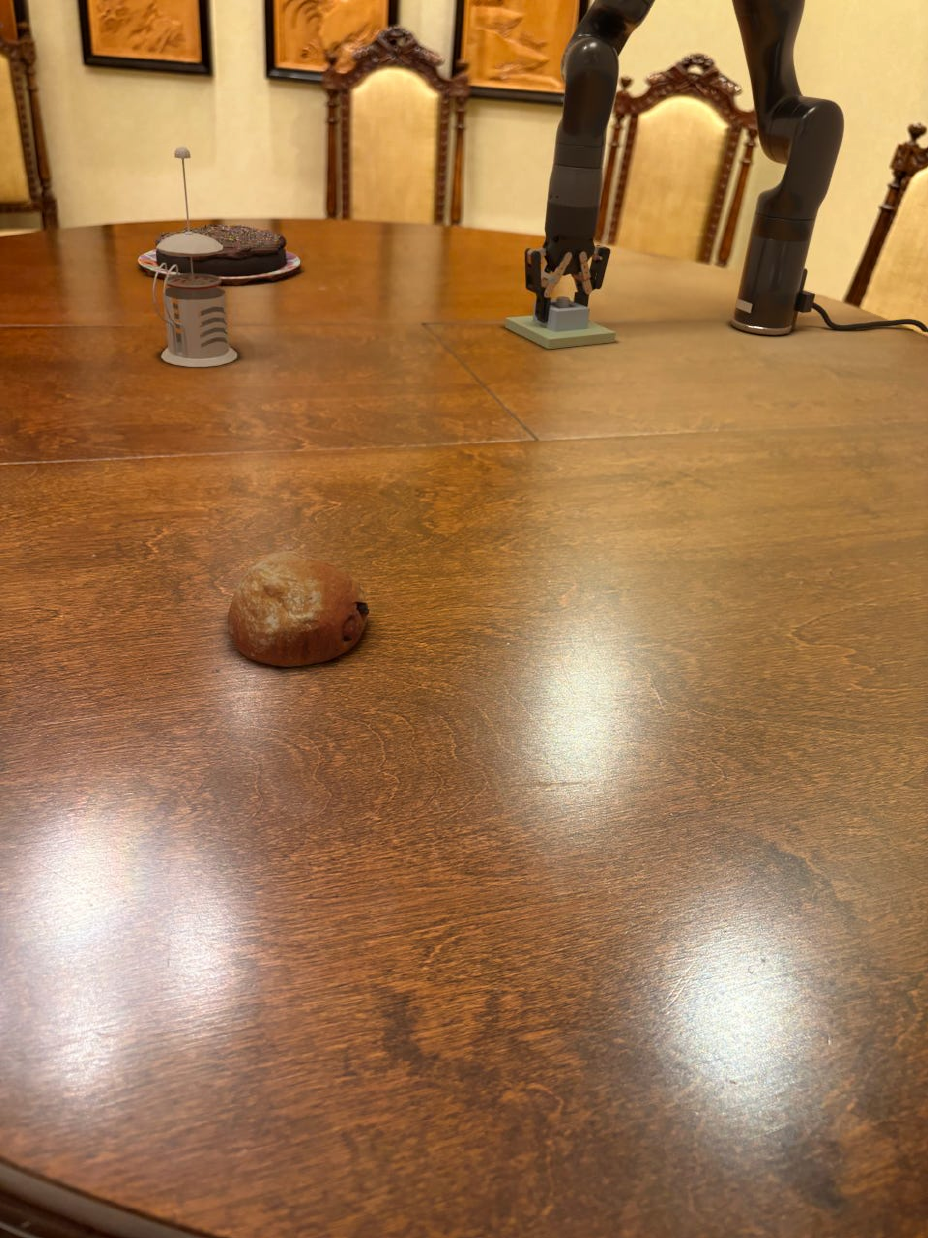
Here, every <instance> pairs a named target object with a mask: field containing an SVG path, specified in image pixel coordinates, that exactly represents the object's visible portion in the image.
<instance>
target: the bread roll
mask: <svg viewBox="0 0 928 1238" xmlns="http://www.w3.org/2000/svg"><path fill="white" fill-rule="evenodd" d="M369 614H370V609H369V604H368V602H367V600H366V593H365V591H364V589H363V587H361V582H360V580H358V579H357V578H354V577H353V576H352V575H350V574H348V573H347V572H345V571H343V570H341V569H339V568H336V567H335V566H334V564H333V563H330V562H328V561H324V560H323V561H318V560H316V559H313V558H311V557H308V556H306V555H303V554H302V553H299V552H297V551H294V550H283V551H278V552H275V553H271V554H269V555H268V556H266V557H264V558H263V559H261V560H260V561H258V562H257V563H256V564H254V565H253V566H251V567H250V568H249V569H248V570H247V572H245V574H244V576H243V577H242V578H241V579H240V582H239V584H238V585H237V587H236V588H235V591H234V593H233V595H232V599H231V602H230V605H229V609H228V613H227V620H226V621H227V623H226V624H227V629H228V634H229V637H230V639H231V641H232V643H233V645H234V647H235V648H236V649H237V651H239V652H240V653H242V654H243V656H245V657H246V658H248V659H249V660H252V661H256V662H259V663H261V664H266V665H270V666H274V667H284V668H292V667H300V666H309V665H314V664H318V663H320V664H321V663H324V662H327V661H330V660H333V659H335V658H337V657H339V656H341V655H343V654H345V653H346V652H348V651H350V650H351V649H352V648H353V647H354V646H355V645H356V644H357V642H359V640H360V638H361V636H362V634H363V633H364V630H365V628H366V624H367V618H368V615H369Z"/></svg>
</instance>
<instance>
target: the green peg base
mask: <svg viewBox="0 0 928 1238" xmlns="http://www.w3.org/2000/svg"><path fill="white" fill-rule="evenodd" d="M555 300H556V308H559V309H560V308H569V302H570V300H571V298H570V297H568V296H563V295H560V296H559V295H558V296H556V299H555ZM504 324H505V325H504V327H505V328H506V329H507V330H509V331H511V332H512V333H513V332H514V333H515V334H517V335H518V336H521V337H523V338H525V339H527V340H529V341H531V342H533V343H535V344H537V345H539V346H540V347H542V348H545V349H546V350H555V349H556V350H557V349H564V348H575V347H584V346H590V345H591V346H592V345H601V344H611V343H615V341H616V334H617V333H616V331H614V330H611V329H610V328H607V327H604V326H603V325H601V324H598V323H596V322H593V321H591V320H589V319H588V327H587V329H578V330H568V331H558V332H554V331H552V330H550V329H548V328H546V327H543V326H541V325H539V324H537V323H535V322H533V314H532V315H523V316H510V317H505V323H504Z"/></svg>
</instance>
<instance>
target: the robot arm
mask: <svg viewBox="0 0 928 1238" xmlns="http://www.w3.org/2000/svg"><path fill="white" fill-rule="evenodd" d="M655 2H656V0H593V2H592V4H591V5H590V7H589V8H588V10H587V11H586V13H585V14H584V16H583V17H582V19H581V20H580V22H579V23H578V25H577V27H576V28H575V30H574V31H573V33H572V35H571V36H570V39H569V41H568V43H567V44H566V46H565V48H564V50H563V53H562V55H561V59H560V65H559V73H560V77H561V80H562V82H563V84H564V93H563V104H562V113H561V114H562V115H561V118H560V120H559V122H558V124H557V127H556V133H555V139H554V150H553V159H552V162H553V163H552V167H551V172H550V176H549V182H548V190H547V200H546V211H545V220H544V234H545V239H544V242H543V244H542V246H541V247H539V248H538V247H537V248H530V247H527V248H525V250H524V280H525V282H524V283H525V284H524V285H525V289H526V290H527V291H529V292H531V293H534V294H535V296H536V297H535V298H536V299H535V301H536V307H535V316H536V317H537V320H538V321H540V322H542V323H547V322H548V318H549V309H550V305H551V300H552V297H550V296H551V295H552V293H553V291H554V289H555V287H556V285H557V284H559V283H560V281H561V279H562V277H565V276H568V275H570V276H571V277H572V279H573V281H574V286H575V288H576V291H575V292H574V296H573V302H576V303H578V304H580V305H583V306H585V307H588V308H589V299H590V295H591V294H592V292H593V291H596V290H601V289H602V287H603V285H604V279H605V276H606V272H607V267H608V265H609V264H608V263H609V259H610V255H611V248H609V247H606V246H604V245H602V244H596V245H595V242H594V238H595V237H596V236H597V235H598V234H597V233H598V226H599V225H598V224H599V219H600V218H599V217H600V210H601V202H602V194H603V187H604V186H603V185H604V184H603V183H604V164H605V163H604V162H605V156H606V149H607V148H606V147H607V138H608V137H607V135H608V128H609V122H610V119H611V115H612V111H613V107H614V103H615V98H616V95H617V89H618V84H619V83H618V82H619V76H620V62H619V61H620V59H619V56H620V55H621V53H622V52H623V49H624V48H625V46H626V44H627V43H628V41H629V39H630V37H631V36H632V34H633V33H634V32H635V31H636V30H637V29H638V28H639V27H640V26H641V25H642V24H643V22H644V21H645V19H646V18H647V17H648V15H649V13H650V11H651V9H652V7H653V6H654V4H655ZM731 4H732V7H733V13H734V16H735V19H736V22H737V27H738V30H739V34H740V38H741V42H742V47H743V53H744V58H745V62H746V66H747V70H748V75H749V79H750V80H749V81H750V87H751V94H752V101H753V108H754V109H753V110H754V115H755V124H756V132H757V136H758V142H759V145H760V148H761V151H762V152H763V154H764V155H765V157H766V158H767V159H768V160H770V161H772V162H774V163H776V164H780V165H785V169H784V172H783V175H782V177H781V179H780V182H779V183H778V184H777V185H775V186H774V187H771V188H768V189H766V190H763V191H761V192H759V194H758V196H757V199H756V203H755V207H754V213H753V218H752V223H751V228H750V234H749V239H748V243H747V247H746V253H745V256H744V257H745V258H744V263H743V266H742V272H741V278H740V281H739V287H738V291H737V296H736V301H735V307H734V311H733V315H732V318H731V325H732V327H734V328H736V329H738V330H741V331H743V332H747V333H752V334H755V335H756V334H757V335H764V336H765V335H766V336H781V335H786V334H787V335H788V334H789V333H790V332H791V331H794V330H795V327H796V323H797V319H798V315H799V313H802V314H806V313H811V312H812V309H813V310H814V311H816V312H817V313H818V314H819V315H820V316H821V318H822V319H823V322H824V324H825V325H826V326H827V327H828V328H830V329H831V330H835V331H840V332H841V331H853V330H865V329H872V328H879V327H881V328H882V327H893V326H903V325H911V326H915V327H917V328H918V329H919V330H921V331H922V332H924V333H928V326H927V325H926V324H924V323H923V322H922V321H920V320H917V319H913V318H900V319H893V320H875V321H870V322H860V323H850V324H837V323H835V322H833V321H832V320H831V318H830V316H829V314H828V313H827V311H826V309H824V308H823V306H821V305H819V304H817V302H815V296H816V294H815V293H813V292H810V291H807V290H805V286H806V280H807V277H808V273H809V272H808V271H809V270H808V269H807V268H806V263H807V258H808V254H809V250H810V246H811V242H812V237H813V233H814V228H815V224H816V220H817V216H818V212H819V209H820V207H821V205H822V204H823V202H824V201H825V199H826V196H827V194H828V191H829V189H830V185H831V182H832V178H833V174H834V171H835V167H836V165H837V161H838V157H839V154H840V150H841V147H842V143H843V138H844V130H845V118H844V117H845V116H844V112H843V110H842V107H841V106H840V105H839V104H838V103H837V102H836V101H833V100H831V99H828V98H821V97H812V96H806V95H803V93H802V91H801V88H800V85H799V82H798V78H797V72H796V66H795V59H794V52H795V51H794V50H795V44H796V40H797V36H798V33H799V30H800V27H801V23H802V20H803V16H804V10H805V6H806V0H731ZM590 259H591V261H590V264H588V262H589V260H590ZM544 260H545V262H544ZM542 264H544V265H543V267H542ZM551 272H552V273H551Z"/></svg>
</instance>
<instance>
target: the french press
mask: <svg viewBox="0 0 928 1238" xmlns="http://www.w3.org/2000/svg"><path fill="white" fill-rule="evenodd" d="M173 156H174V159H175V158H176V159H181V164H182V165H181V166H182V176H183V177H182V178H183V189H184V200H185V211H186V224H187V228H188V231H187V232H185V233H181V234H175V235H172V236H170V237H168V238H166V239H164V240H163V241H162V242H160V243H159V244H158V245H157V246H155V247H156V249H158V251H159V252H161V253H163V254H166V255H171V256H179V257H190V260H191V272H192V274H191V273H190V274H188V273H187V274H186V273H185V274H183V273H182V274H181V273H180V274H179V275H178V267H177V265H173V266H172V267H171V269H170V270H169V271H168V269H167V265H166V263H162V264H161V266H160V267H159V268H158V269H157V272H156V274H155V276H154V279H153V282H152V283H153V285H152V298H153V299H152V300H153V305H154V308H155V311H156V313H157V315H158V317H159V318H160V319H161V320H162V321H163V322H164V323H165V329H166V338H167V347H166V348H165V350H164V351H163V352H162V354H161V356H160V358H161V359H162V360H163V361H164V362H166V363H169V364H172V365H175V366H182V367H189V368H207V367H217V366H221V365H225V364H228V363H232V362H233V361H234V360H236V359H237V358H238V353H237V352H236V351H235V350H234V349H233V348H231V346H230V343H229V341H228V340H229V333H228V332H227V331H228V330H229V325H228V323H227V322H226V321H228V314H227V313H226V311H227V297H226V291H225V290H224V289H222V288H220V287H219V286H221V284H222V283H221V282H222V280H221V279H220V278H219V277H217V276H216V275H215V276H214V275H209V274H207V275H206V274H205V275H204V274H201V273H200V274H199V273H198V274H196V273H195V274H194V273H193V263H192V257H196V256H208V255H214V254H217V253H220V252H221V251H222V249H223V245H221V244H220V243H219V242H217V241H216V240H215V239H213V238H210V237H208V236H205V235H201V234H197V233H192V232H191V231H190V229H191V228H190V218H189V217H190V216H189V206H188V205H189V204H188V195H187V183H186V182H187V181H186V170H185V159H191V157H192V156H191V152H190V150H189V149H188V148H187V147H184V146H179V147H176V148H175V150H174V155H173ZM163 265H165V270H166V272H167V277H166V278H165V279H164V280H163V282H164V283H163V291H162V296H163V297H162V298H163V307H164V316H165V317H163V316H162V315H161V313H160V310H159V308H158V306H157V305H158V304H157V300H156V299H157V298H156V291H155V290H156V282H157V278H158V277H157V275H158V272H159V270H160V269H161V267H162V266H163ZM174 267H176V274H172V273H170V272H171V270H172V269H173V268H174ZM169 275H170V276H169ZM167 286H168V287H167ZM174 299H175V300H176V301H177V303H175V302H174V301H173V300H174ZM174 309H175V310H177V311H178V313H176V312H175V311H174ZM199 313H200V315H199ZM175 319H176V320H178V321H176V320H175ZM200 324H201V325H200ZM177 329H178V330H179V331H180V332H177Z"/></svg>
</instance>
